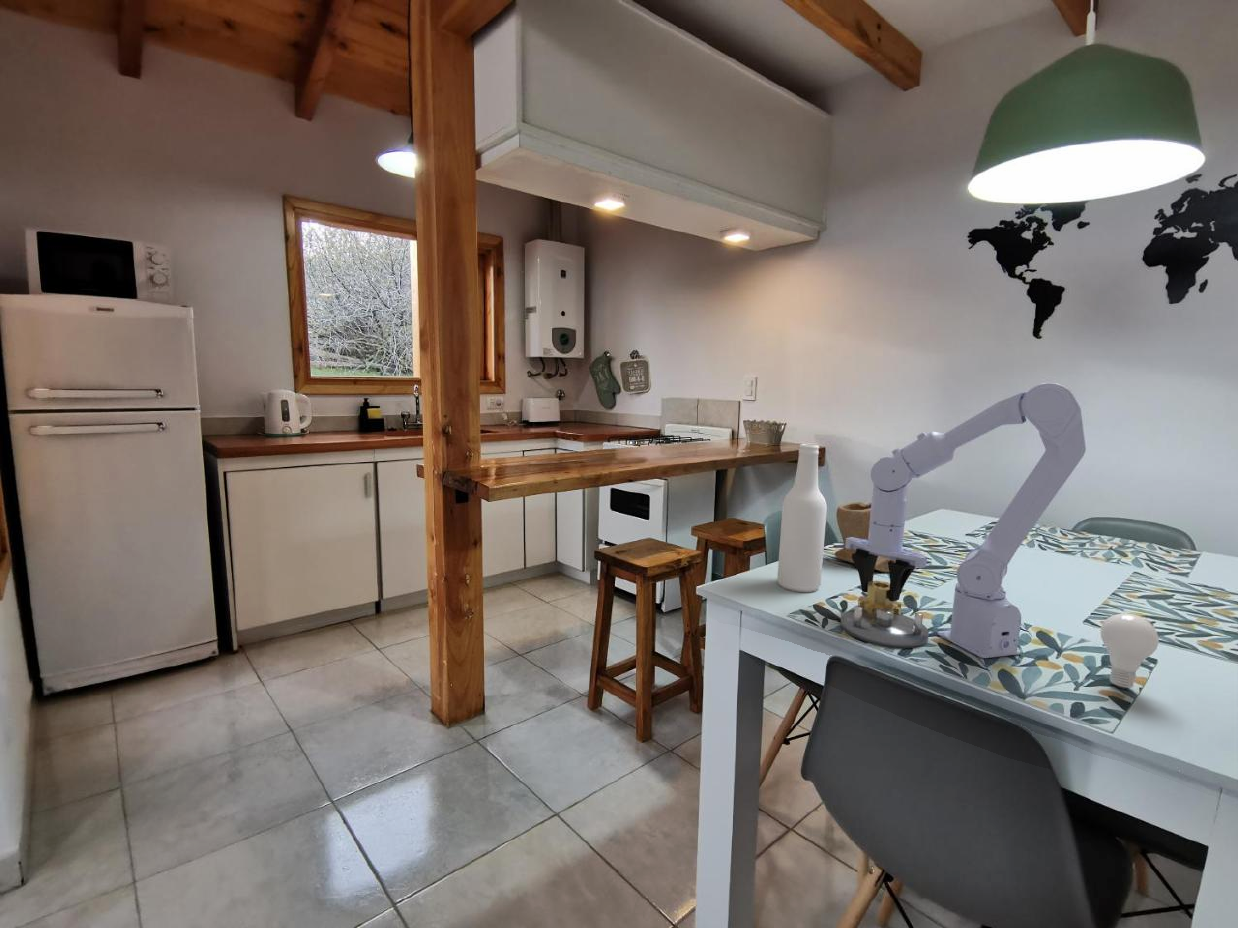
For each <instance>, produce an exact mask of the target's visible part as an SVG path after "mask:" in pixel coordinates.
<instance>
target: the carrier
mask: <svg viewBox="0 0 1238 928" xmlns="http://www.w3.org/2000/svg"><path fill="white" fill-rule="evenodd" d="M923 619H924V614H923V613H921V612H915V613H914V618H913V617H910V616H907V615H903V614H902V613H901V614H900V615H899V616H898V615H893V611H892V610H890V609H886V608H878V609H877V614H873V615H872V614H869V613H867V611H866V610H864V609H862V607H861V606H858V605H855V606H854V609H849V610H847V611H845V612H843V613H842V614H841V616H840V626H841V629H842V630H843V631H844V632H846V633H847V634H849V636H851V637H854V638H855V639H858V640H860V641H863V642H866V643H868V644H872V645H876V646H881V647H887V648H893V649H894V648H895V649H913V648H919V647H922V646H925V645H926V644H927V642H928V640H929V630H928V628H927V626H925V625H924V624H923Z"/></svg>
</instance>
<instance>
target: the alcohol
mask: <svg viewBox="0 0 1238 928" xmlns="http://www.w3.org/2000/svg"><path fill="white" fill-rule="evenodd" d="M798 447H799V449H798V458H797V459H798V460H797V466H796V473H795V478H794V479H795V480H794V484H793V486H792V489H790V490H789V492H788V493H787V494H786V495H785V496H784V498H783V499H784V500H783V502H782V508H781V509H782V510H781V511H782V512H781V521H780V522H781V523H780V537H779V538H780V539H779V551H778V552H779V553H778V566H777V578H776V579H777V583H778V584H779V586H780V587H781V588H784V589H785V590H788V591H792V592H796V593H797V592H798V593H813V592H816V591H818V590H819V588H820V586H821V585H822V583H821V582H822V571H823V559H824V550H825V549H824V548H825V547H824V546H825V537H826V536H825V535H826V525H827V524H826V523H827V522H826V521H827V511H828V507H827V501H826V499H825V496H824V495H823V494H822V492H821V491H820V488H819V487H820V486H819V454H820V451H819V449H820V446H819V445H818V444H814V443H813V444H812V443H811V444H810V443H801V444H799V445H798Z"/></svg>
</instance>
